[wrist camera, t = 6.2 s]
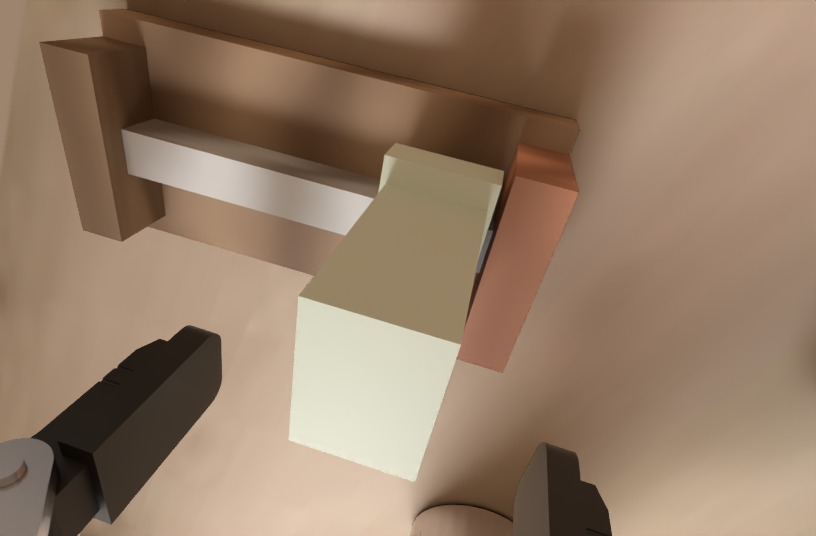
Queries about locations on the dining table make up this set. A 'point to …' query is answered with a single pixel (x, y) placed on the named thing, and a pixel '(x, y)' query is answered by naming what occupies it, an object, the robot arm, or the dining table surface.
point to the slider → (391, 313)
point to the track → (294, 154)
